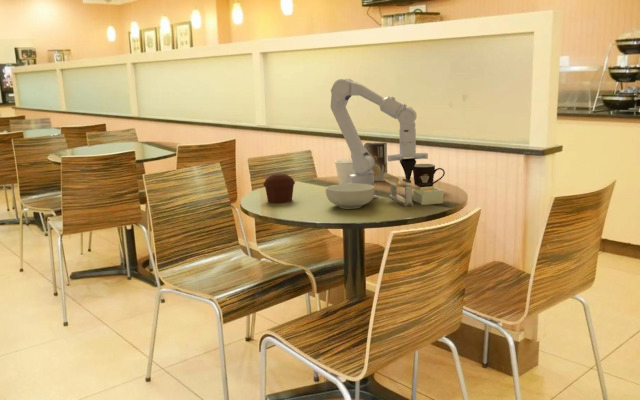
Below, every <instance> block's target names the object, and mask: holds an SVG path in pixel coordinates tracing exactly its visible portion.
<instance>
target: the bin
mask: <svg viewBox="0 0 640 400" xmlns="http://www.w3.org/2000/svg"><path fill="white" fill-rule="evenodd" d="M427 190H432V191H427ZM413 201H414V202H415V203H418V204H420V205H422V206H424V205H426V206H427V205H435V204H444V190H443V189H441V188H439V187H436V186H433V187H420V190H416V189H414V190H413Z"/></svg>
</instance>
